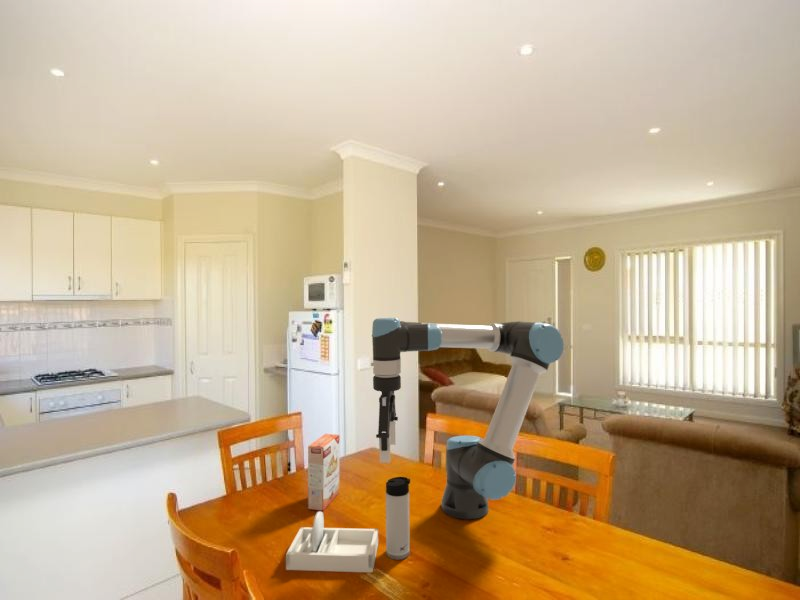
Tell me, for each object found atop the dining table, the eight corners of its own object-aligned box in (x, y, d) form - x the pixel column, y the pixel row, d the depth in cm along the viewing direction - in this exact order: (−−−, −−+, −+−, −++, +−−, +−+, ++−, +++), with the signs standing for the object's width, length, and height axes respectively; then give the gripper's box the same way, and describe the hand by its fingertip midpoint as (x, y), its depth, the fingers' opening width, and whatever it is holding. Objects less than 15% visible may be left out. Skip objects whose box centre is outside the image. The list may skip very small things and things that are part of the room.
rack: (378, 543, 122) (377, 503, 122) (372, 572, 109) (372, 527, 109) (301, 541, 123) (300, 501, 123) (286, 569, 110) (285, 525, 110)
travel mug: (408, 561, 113) (407, 484, 113) (383, 558, 114) (383, 483, 114) (412, 548, 119) (412, 475, 119) (389, 545, 121) (388, 473, 121)
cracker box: (324, 512, 140) (323, 447, 140) (307, 510, 141) (306, 445, 141) (340, 493, 154) (340, 433, 153) (324, 491, 155) (324, 432, 155)
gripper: (379, 367, 131) (380, 437, 131) (365, 384, 106) (366, 470, 106) (404, 367, 130) (405, 438, 130) (396, 384, 105) (397, 471, 106)
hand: (388, 452), depth 118 cm, fingers open, 13 cm apart
